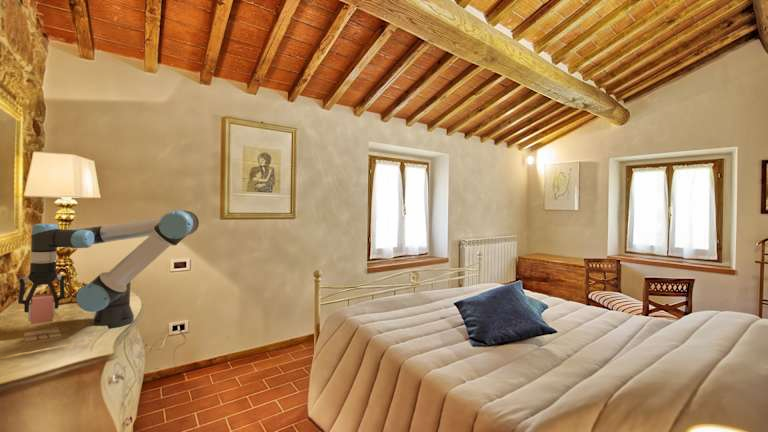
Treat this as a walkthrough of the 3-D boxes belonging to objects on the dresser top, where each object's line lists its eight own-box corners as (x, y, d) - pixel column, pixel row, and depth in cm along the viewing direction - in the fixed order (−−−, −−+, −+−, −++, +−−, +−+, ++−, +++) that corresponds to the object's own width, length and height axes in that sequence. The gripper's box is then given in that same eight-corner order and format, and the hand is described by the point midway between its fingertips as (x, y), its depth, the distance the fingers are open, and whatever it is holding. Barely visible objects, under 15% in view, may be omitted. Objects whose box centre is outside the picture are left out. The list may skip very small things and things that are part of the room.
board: (61, 340, 136) (61, 337, 136) (25, 347, 129) (25, 344, 129) (57, 330, 147) (57, 327, 147) (23, 335, 139) (23, 332, 139)
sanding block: (52, 322, 140) (53, 296, 140) (31, 325, 135) (32, 299, 135) (50, 317, 145) (51, 293, 145) (30, 320, 141) (31, 295, 141)
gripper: (73, 258, 149) (71, 311, 150) (8, 262, 135) (6, 320, 136) (76, 261, 144) (73, 316, 145) (9, 265, 130) (6, 325, 131)
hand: (41, 318), depth 140 cm, fingers closed on sanding block, 6 cm apart
